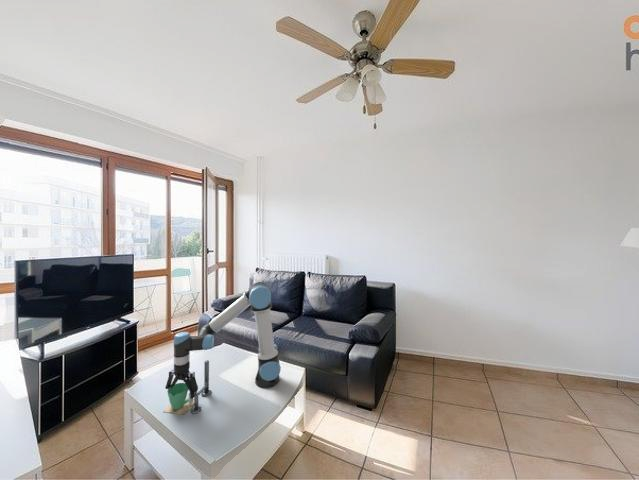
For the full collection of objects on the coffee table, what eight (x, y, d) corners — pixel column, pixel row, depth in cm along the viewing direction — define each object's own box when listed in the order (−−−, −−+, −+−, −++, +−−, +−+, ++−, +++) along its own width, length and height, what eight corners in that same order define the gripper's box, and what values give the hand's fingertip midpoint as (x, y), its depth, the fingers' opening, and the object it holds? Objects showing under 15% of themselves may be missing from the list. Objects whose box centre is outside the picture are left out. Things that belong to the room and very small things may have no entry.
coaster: (198, 400, 145) (198, 399, 145) (184, 415, 133) (184, 414, 133) (179, 397, 147) (179, 396, 147) (163, 412, 135) (163, 411, 135)
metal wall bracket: (217, 391, 153) (218, 360, 152) (197, 414, 134) (197, 378, 133) (204, 390, 154) (205, 358, 153) (183, 412, 135) (183, 376, 134)
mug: (168, 415, 132) (168, 396, 131) (165, 404, 139) (166, 386, 139) (199, 405, 140) (200, 387, 140) (195, 395, 148) (196, 378, 148)
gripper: (205, 360, 141) (205, 400, 142) (167, 356, 145) (167, 395, 145) (197, 367, 134) (196, 410, 134) (157, 363, 137) (157, 404, 138)
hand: (181, 402), depth 140 cm, fingers closed on mug, 10 cm apart
